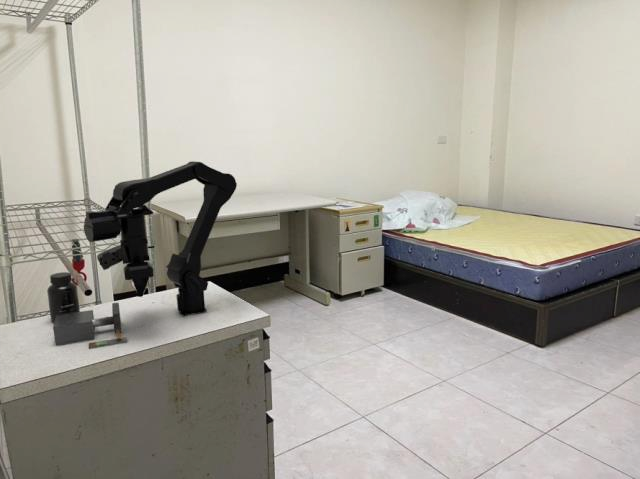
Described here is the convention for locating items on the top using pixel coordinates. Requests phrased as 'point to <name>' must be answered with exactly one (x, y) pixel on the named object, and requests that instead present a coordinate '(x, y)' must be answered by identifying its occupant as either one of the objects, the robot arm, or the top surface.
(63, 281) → the supplement bottle
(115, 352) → the top surface
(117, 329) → the gauge plunger
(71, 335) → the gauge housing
